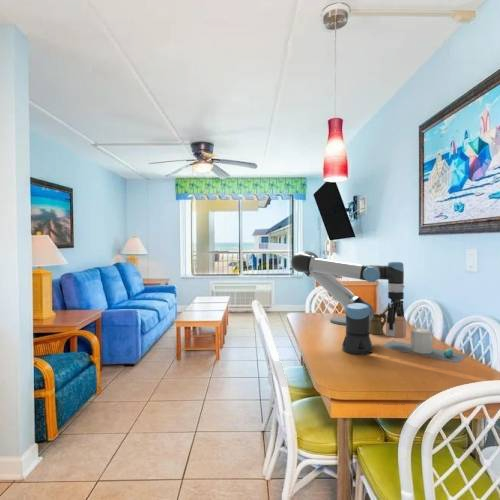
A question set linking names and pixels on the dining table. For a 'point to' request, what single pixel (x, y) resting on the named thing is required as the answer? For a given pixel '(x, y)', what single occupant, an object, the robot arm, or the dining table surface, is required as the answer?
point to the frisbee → (339, 320)
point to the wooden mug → (378, 323)
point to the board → (435, 354)
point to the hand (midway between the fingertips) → (395, 334)
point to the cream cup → (421, 340)
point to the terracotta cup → (398, 327)
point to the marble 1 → (447, 354)
